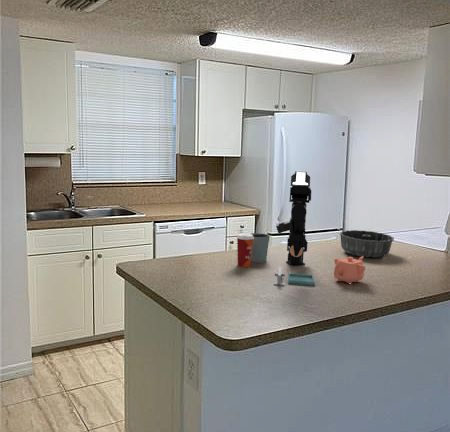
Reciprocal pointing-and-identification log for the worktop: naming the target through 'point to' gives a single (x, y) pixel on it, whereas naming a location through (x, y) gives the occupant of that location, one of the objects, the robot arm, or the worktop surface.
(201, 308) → the worktop surface
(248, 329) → the worktop surface
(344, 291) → the worktop surface
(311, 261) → the worktop surface
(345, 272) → the pink piggy bank
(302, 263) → the robot arm
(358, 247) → the bundt pan
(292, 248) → the ball
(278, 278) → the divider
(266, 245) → the grey tapered cup
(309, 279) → the coaster tray
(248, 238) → the paper cup
